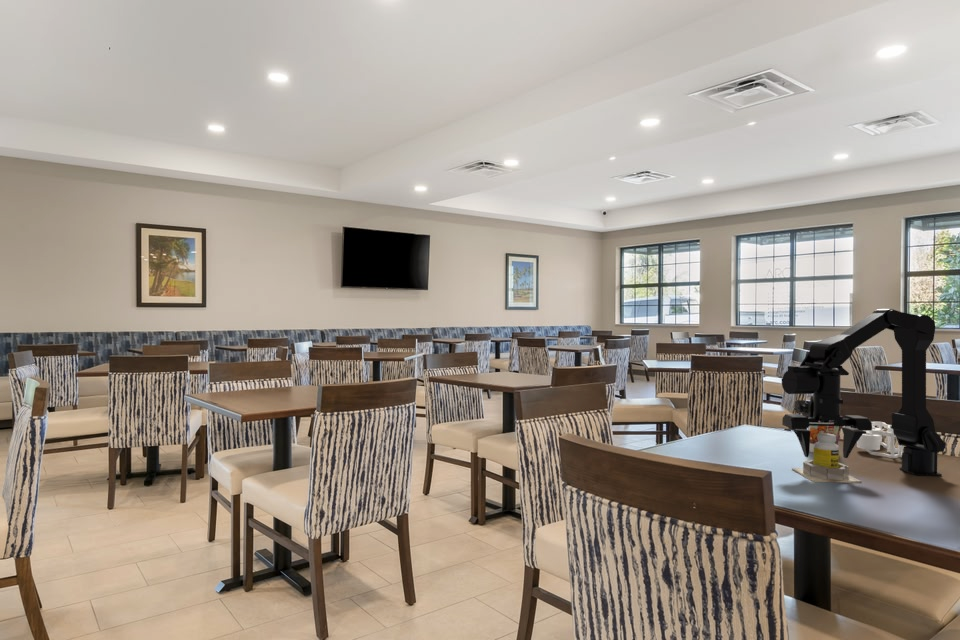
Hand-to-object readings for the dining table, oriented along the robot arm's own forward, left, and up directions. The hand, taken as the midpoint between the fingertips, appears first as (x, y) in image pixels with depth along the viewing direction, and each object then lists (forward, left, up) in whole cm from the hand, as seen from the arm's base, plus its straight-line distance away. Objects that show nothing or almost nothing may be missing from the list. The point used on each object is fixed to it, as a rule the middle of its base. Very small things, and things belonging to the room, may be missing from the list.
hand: (825, 457), depth 147 cm
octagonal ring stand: (0, 0, -5) cm, 5 cm away
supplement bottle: (0, 0, -4) cm, 4 cm away
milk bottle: (-13, -28, -5) cm, 31 cm away
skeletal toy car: (-31, -32, -5) cm, 45 cm away
